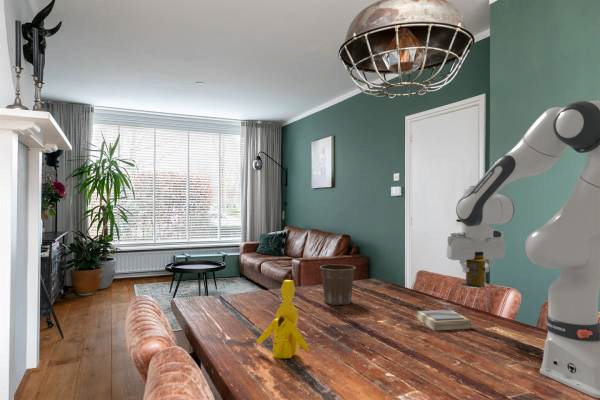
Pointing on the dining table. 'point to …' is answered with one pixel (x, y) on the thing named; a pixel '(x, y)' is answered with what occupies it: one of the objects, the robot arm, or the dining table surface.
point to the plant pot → (337, 283)
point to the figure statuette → (285, 326)
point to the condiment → (475, 272)
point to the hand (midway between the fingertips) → (475, 272)
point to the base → (443, 320)
